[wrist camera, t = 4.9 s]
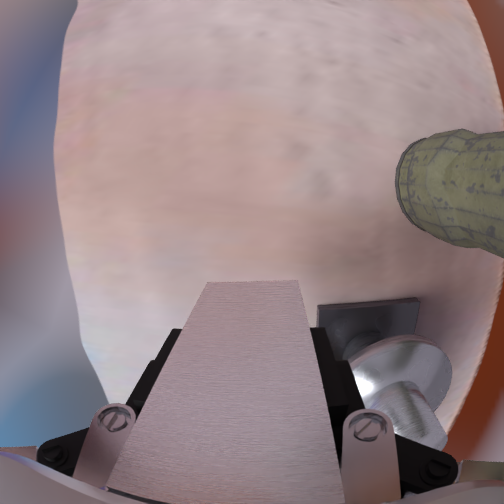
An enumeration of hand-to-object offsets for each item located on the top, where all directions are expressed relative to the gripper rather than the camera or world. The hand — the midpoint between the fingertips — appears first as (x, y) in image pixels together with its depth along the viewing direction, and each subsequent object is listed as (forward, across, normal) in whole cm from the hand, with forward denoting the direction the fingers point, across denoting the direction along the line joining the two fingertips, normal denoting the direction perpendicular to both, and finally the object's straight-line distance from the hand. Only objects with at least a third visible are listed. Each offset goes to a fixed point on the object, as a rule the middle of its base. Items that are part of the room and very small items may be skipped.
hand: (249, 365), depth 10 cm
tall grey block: (+3, 0, 0) cm, 3 cm away
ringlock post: (+14, -10, +15) cm, 23 cm away
